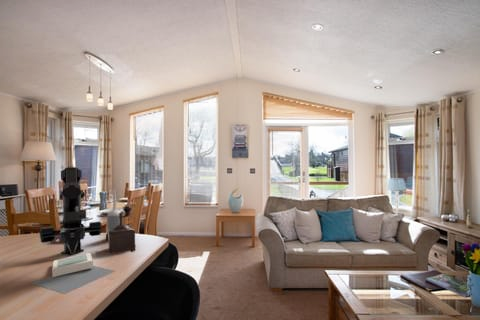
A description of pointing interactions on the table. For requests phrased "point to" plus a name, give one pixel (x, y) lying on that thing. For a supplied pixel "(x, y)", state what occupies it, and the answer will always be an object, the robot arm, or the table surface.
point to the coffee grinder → (122, 235)
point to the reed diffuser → (113, 217)
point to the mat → (73, 279)
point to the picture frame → (72, 264)
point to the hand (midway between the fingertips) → (72, 253)
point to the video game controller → (56, 239)
